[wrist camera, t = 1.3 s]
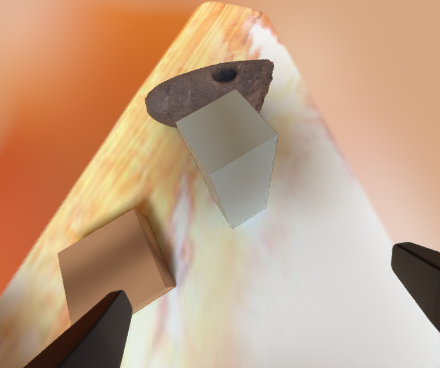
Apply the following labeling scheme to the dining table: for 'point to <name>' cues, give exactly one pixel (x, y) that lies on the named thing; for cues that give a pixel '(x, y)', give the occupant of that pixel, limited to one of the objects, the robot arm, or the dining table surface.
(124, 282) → the base block
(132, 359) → the dining table surface
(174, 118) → the perforated stone tool
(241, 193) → the column
